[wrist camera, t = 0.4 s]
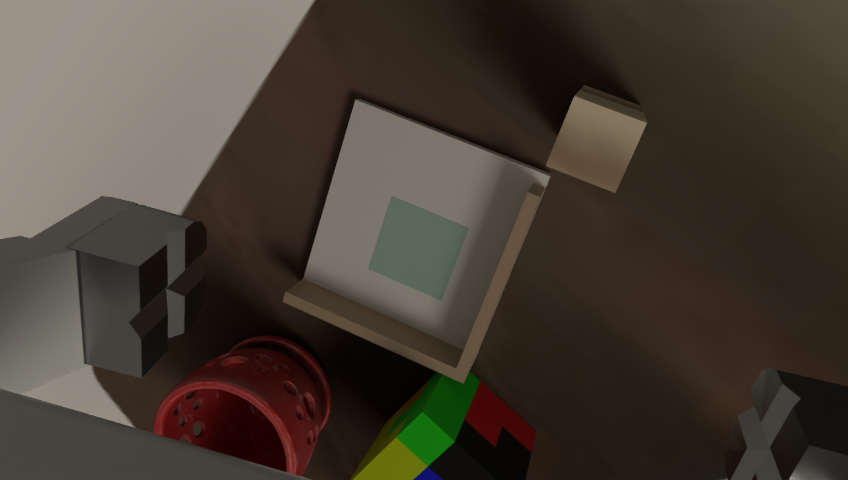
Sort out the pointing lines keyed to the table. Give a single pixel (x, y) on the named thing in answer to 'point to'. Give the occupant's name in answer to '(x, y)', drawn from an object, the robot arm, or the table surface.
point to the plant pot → (252, 404)
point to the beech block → (598, 138)
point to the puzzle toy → (450, 437)
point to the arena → (417, 239)
